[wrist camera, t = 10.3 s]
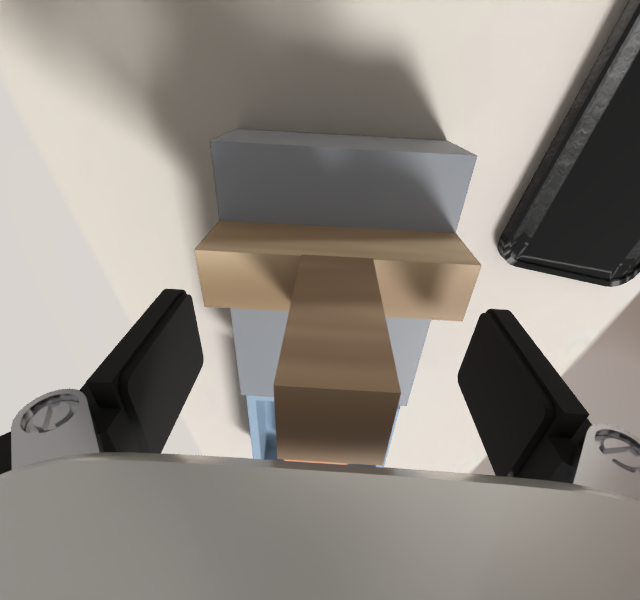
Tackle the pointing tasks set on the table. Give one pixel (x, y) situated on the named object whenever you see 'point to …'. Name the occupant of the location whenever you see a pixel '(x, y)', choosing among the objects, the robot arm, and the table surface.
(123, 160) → the table surface
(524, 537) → the robot arm
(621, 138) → the phone
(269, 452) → the tray
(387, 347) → the scraper
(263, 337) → the gray rectangular block
